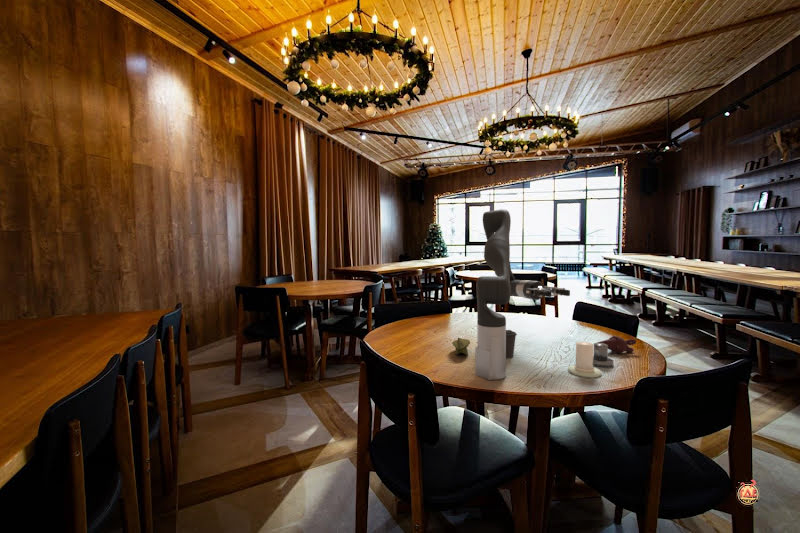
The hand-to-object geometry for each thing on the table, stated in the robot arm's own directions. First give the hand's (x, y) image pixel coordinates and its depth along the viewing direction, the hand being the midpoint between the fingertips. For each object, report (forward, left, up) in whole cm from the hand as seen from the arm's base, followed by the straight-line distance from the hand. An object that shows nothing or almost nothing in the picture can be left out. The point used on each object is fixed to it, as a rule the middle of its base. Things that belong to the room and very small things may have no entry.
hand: (560, 293), depth 126 cm
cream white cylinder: (-3, -11, -25) cm, 27 cm away
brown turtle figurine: (+28, -7, -26) cm, 39 cm away
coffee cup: (-10, +16, -26) cm, 32 cm away
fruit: (-22, +29, -26) cm, 45 cm away
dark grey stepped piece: (+10, -10, -26) cm, 29 cm away
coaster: (-3, -11, -26) cm, 28 cm away
